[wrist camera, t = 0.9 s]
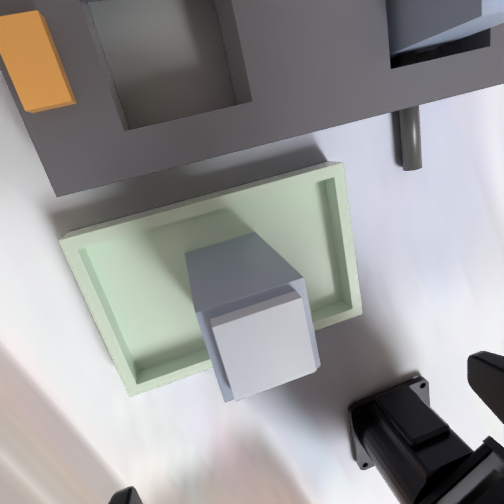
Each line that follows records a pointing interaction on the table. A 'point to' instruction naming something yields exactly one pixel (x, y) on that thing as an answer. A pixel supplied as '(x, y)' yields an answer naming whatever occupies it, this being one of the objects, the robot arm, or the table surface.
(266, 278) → the plug
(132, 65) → the table surface
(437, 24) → the twin plug
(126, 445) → the table surface
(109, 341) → the tray
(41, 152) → the strip
